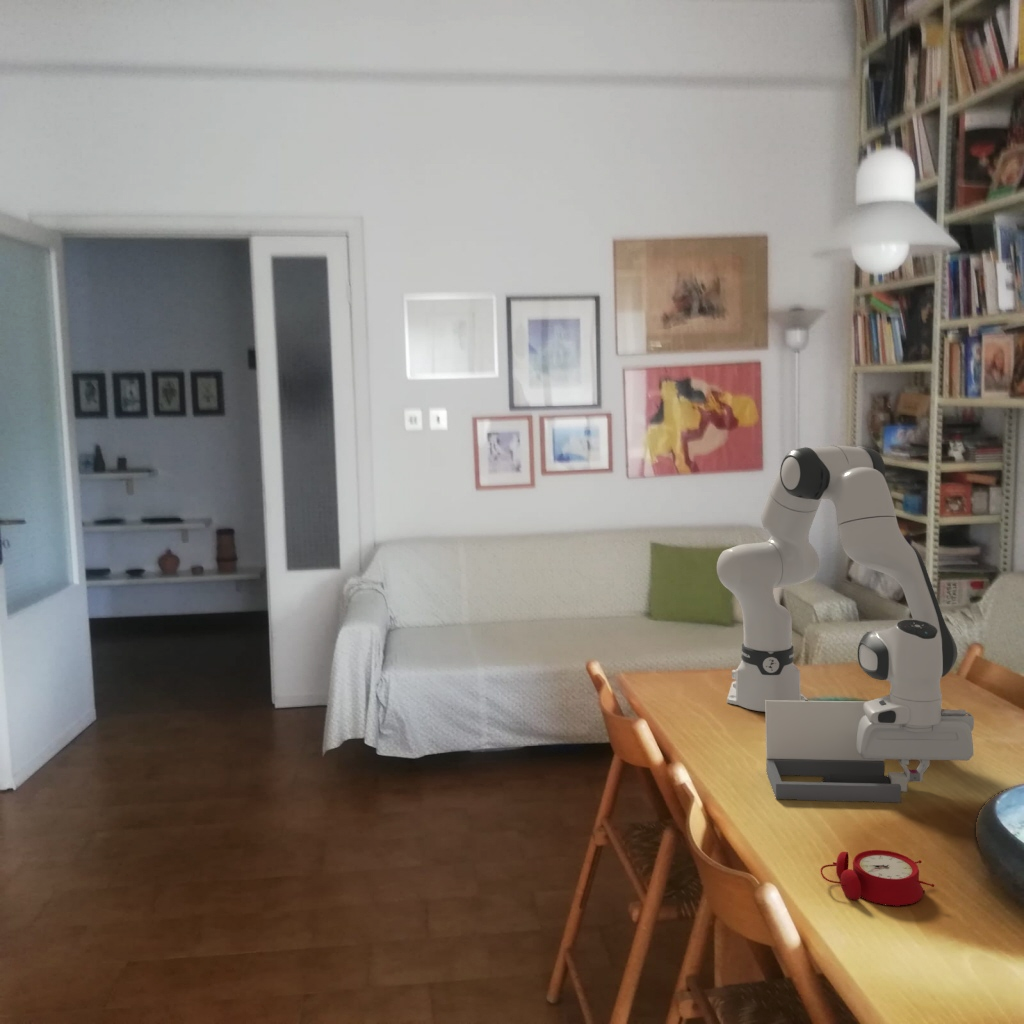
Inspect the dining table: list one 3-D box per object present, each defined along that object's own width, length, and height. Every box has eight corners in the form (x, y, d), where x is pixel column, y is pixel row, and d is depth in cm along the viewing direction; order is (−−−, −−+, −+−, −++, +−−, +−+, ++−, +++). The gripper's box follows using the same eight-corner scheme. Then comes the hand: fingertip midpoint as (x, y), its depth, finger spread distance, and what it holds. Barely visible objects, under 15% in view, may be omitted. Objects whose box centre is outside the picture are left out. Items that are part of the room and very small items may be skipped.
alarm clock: (940, 886, 137) (835, 860, 139) (929, 926, 138) (824, 899, 140) (920, 852, 147) (823, 827, 149) (910, 888, 148) (813, 864, 150)
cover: (766, 758, 186) (766, 757, 187) (883, 760, 183) (882, 759, 184) (765, 701, 186) (765, 700, 187) (882, 702, 184) (881, 701, 185)
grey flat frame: (766, 772, 187) (766, 757, 187) (882, 774, 184) (883, 760, 184) (775, 799, 175) (776, 784, 174) (900, 802, 172) (901, 786, 172)
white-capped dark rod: (823, 789, 178) (824, 776, 178) (821, 784, 181) (821, 770, 181) (907, 791, 177) (907, 778, 176) (903, 785, 179) (903, 772, 179)
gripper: (968, 704, 178) (965, 774, 179) (854, 703, 180) (853, 772, 182) (980, 715, 171) (977, 788, 173) (863, 714, 174) (861, 786, 176)
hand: (913, 780), depth 178 cm, fingers closed
